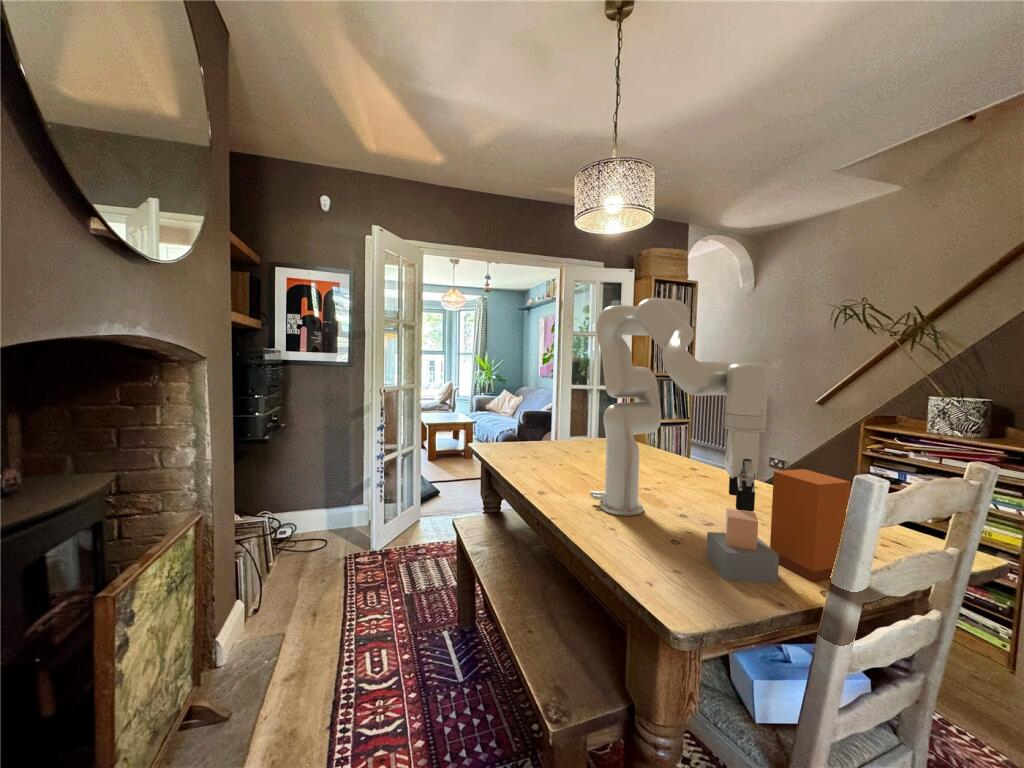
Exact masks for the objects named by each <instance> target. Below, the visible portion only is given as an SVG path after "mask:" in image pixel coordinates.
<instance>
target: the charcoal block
mask: <svg viewBox="0 0 1024 768" xmlns="http://www.w3.org/2000/svg"><path fill="white" fill-rule="evenodd" d="M706 535H707V536H706V558H707V560H708V561H709V563H711V565H712V566H713V567H714V569H716V571H717V572H718V573H719V575H720V576H721V577H722V578H723V580H724V581H726V582H746V583H761V584H763V583H764V584H778V583H779V568H780V567H779V565H780V564H779V555H778V554H777V553H776V552H775V551H773V550H772V549H771V548H770V545H768V544H767V543H765V542H764V541H763V540H762V539H760V538H759V537H758V536H757V550H751V549H746V548H740V547H734V546H729V545H726V538H725V532H715V531H714V532H712V531H707V532H706Z"/></svg>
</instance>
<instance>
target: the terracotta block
mask: <svg viewBox="0 0 1024 768" xmlns="http://www.w3.org/2000/svg"><path fill="white" fill-rule="evenodd" d="M724 530H725V532H724V533H725V538H726V545H729V546H734V547H740V548H746V549H751V550H757V537H758V534H759V533H758V532H759V521H758V517H757V515H756V512H755V511H753V512H750V511H742V510H737V509H734V508H725V529H724Z"/></svg>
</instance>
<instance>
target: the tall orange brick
mask: <svg viewBox="0 0 1024 768" xmlns="http://www.w3.org/2000/svg"><path fill="white" fill-rule="evenodd" d="M772 481H773V482H772V483H773V484H772V485H773V486H772V500H771V501H772V502H771V520H770V521H771V523H770V542H769V547H770V548H771V549H772V550H773V551H775V552H776V553H777V554H778V555H779V565H781V566H783V567H785V568H786V569H788V570H790V571H792V572H794V573H795V574H798V575H800V576H801V577H803V578H805V579H807V580H808V581H811V582H821V581H825V580H831V579H830V576H831V573H832V569H833V566H834V562H835V558H836V554H837V551H838V547H839V543H840V539H841V534H842V529H843V526H844V521H845V517H846V509H847V505H848V500H849V497H850V498H851V488H852V487H851V486H852V482H851V481H848V480H845V479H841V478H838V477H833V476H831V475H827V474H823V473H820V472H817V471H812V470H809V469H804V468H801V469H788V470H777V471H776V470H775V471H773V479H772Z"/></svg>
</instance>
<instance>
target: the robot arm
mask: <svg viewBox="0 0 1024 768" xmlns="http://www.w3.org/2000/svg"><path fill="white" fill-rule="evenodd" d="M689 320H690V311H689V308H688V306H687V305H686V304H685V303H684V302H682V301H681V300H680V299H679V300H678V299H674V298H662V297H650V298H645V299H644V300H642V301H641V302H639V304H638V305H637V306H635V305H625V304H624V305H621V304H618V305H617V304H615V305H610V306H607V307H605V308H603V310H602V311H601V312H600V313H599V316H598V318H597V321H596V331H595V332H596V338H597V342H598V344H599V348H600V352H601V359H602V369H603V379H604V386H605V391H606V393H607V395H608V396H609V397H611V398H614V399H633V400H634V402H632V401H631V402H629V401H628V402H617V403H613V404H611V405H609V406H608V407H606V409H605V411H604V413H603V418H602V419H603V420H602V421H603V427H604V432H605V482H604V483H605V485H604V486H605V487H604V490H601V491H598V490H590V495H589V496H590V498H592V500H597V501H598V500H600V501H599V508H600V509H601V510H602V511H603V512H606V513H609V514H612V515H616V516H624V517H625V516H626V517H632V516H637V515H640V514H642V513H643V512H644V506H643V504H642V503H640V502H639V481H640V448H639V445H638V442H637V441H636V439H635V435H643V434H645V435H646V434H651V433H655V432H656V431H658V429H659V428H660V426H661V422H662V411H661V408H662V407H661V401H660V394H659V386H658V381H657V378H656V374H654V372H653V371H652V370H651V369H649V368H648V367H644V366H635V365H633V360H632V352H631V350H630V347H629V345H628V343H627V342H626V340H625V339H624V338H623V335H624V336H639V337H641V336H643V337H644V336H650V337H651V339H653V341H654V342H655V343H656V344H657V345H658V347H660V348H661V350H662V352H661V353H662V354H661V358H662V365H663V368H664V370H665V372H666V374H667V375H668V377H670V379H671V380H672V381H673V382H674V384H676V385H677V387H679V389H681V390H682V391H684V392H685V393H686V394H688V395H691V396H695V397H696V396H697V397H698V396H699V397H702V396H725V402H724V403H725V405H724V421H723V422H724V423H723V425H724V426H723V427H724V429H727V430H728V431H727V439H726V450H725V460H724V461H725V462H724V468H725V471H726V473H727V475H728V477H729V480H728V495H730V496H735V510H740V511H747V512H755V502H756V499H755V498H756V489H755V488H756V487H755V481H756V480H757V479H758V476H759V465H760V433H765V432H766V425H767V424H766V423H767V406H768V405H767V403H768V387H769V369H768V367H767V366H766V365H765V364H761V363H742V362H741V363H733V362H729V361H728V362H725V361H700V360H697V359H696V358H695V357H694V356H693V355H692V354H691V353H690V352H689V351H688V350H687V348H688V347H689V345H690V344H691V343H692V341H693V339H694V335H695V331H694V329H693V327H692V326H691V325H689Z"/></svg>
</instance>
